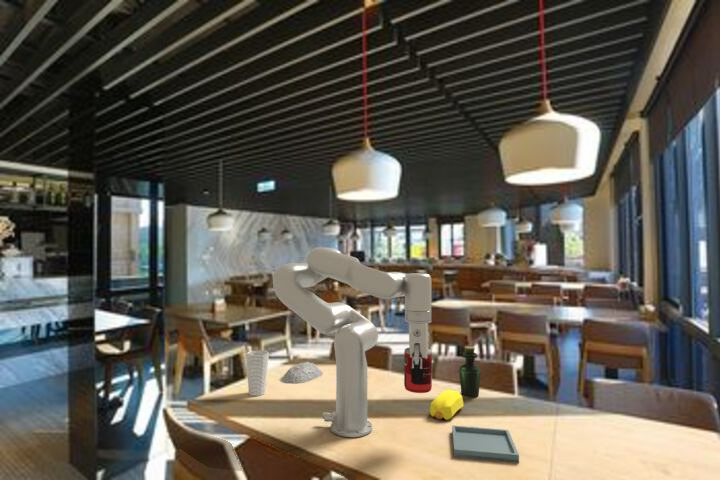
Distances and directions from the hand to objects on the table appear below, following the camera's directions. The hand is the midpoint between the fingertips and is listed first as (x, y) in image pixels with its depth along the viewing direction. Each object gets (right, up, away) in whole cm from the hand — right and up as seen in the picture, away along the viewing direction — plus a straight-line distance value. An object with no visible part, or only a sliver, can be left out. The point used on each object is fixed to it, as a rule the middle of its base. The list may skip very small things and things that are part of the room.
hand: (417, 378), depth 117 cm
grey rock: (-42, -21, +65) cm, 80 cm away
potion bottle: (+26, -20, +41) cm, 52 cm away
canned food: (0, -3, 0) cm, 3 cm away
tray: (+18, -18, -3) cm, 25 cm away
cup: (-56, -20, +40) cm, 71 cm away
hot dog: (+13, -19, +22) cm, 32 cm away
